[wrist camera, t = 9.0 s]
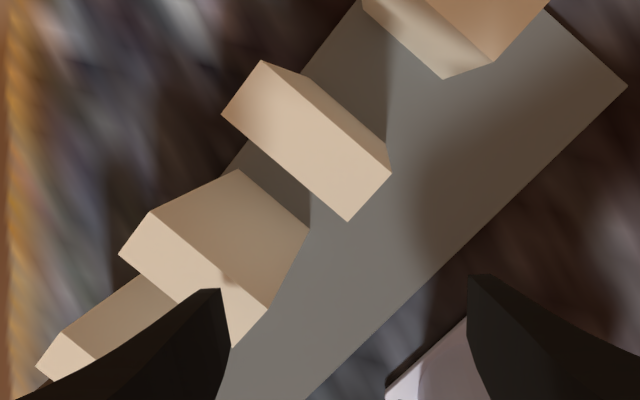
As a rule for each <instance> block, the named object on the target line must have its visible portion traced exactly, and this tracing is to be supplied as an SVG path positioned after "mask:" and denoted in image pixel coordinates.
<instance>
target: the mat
mask: <svg viewBox="0 0 640 400" xmlns="http://www.w3.org/2000/svg"><path fill="white" fill-rule="evenodd" d="M300 75H303V76H306V77H309V78H310V79H311V80H312V81H314V82H315V83H316V84H317V85H318V86H319V87H321V88H322V89H323V90H324V91H325V92H326V93H327V94H329V95H330V96H331V97H332V98H333V99H334V100H336V101H337V102H338V103H339V104H340V105H341V106H342V107H344V108H345V109H346V110H347V111H348V112H349V113H351V114H352V115H353V116H354V117H355V118H356V119H357V120H359V121H360V122H361V123H362V124H363V125H364V126H366V127H367V128H368V129H369V130H370V131H371V132H372V133H374V134H375V135H376V136H377V137H378V138H379V139H381V140H382V141H383V142H384V143H385V144H386V148H387V152H388V157H389V161H390V166H391V170H392V174H391V175H390V176H389V177H388V179H387V180H386V181H385V182H384V183H383V184H382V185H381V186H380V187H379V188H378V190H377V191H376V192H375V193H374V194H373V195H372V196H371V197H370V198H369V199H368V201H367V202H366V203H365V204H364V205H363V206H362V207H361V208H360V209H359V210H358V211H357V213H356V214H355V215H354V216H353V217H352V218H351V219H350V220H349V221H348V222H346V221H345V220H344V219H343V218H342V217H341V216H339V215H338V214H337V213H336V212H335V211H334V210H332V209H331V208H330V207H329V206H328V205H326V204H325V203H324V202H323V201H322V200H321V199H319V198H318V197H317V196H316V195H315V194H314V193H312V192H311V191H310V190H309V189H308V188H306V187H305V186H304V185H303V184H302V183H301V182H299V181H298V180H297V179H296V178H295V177H294V176H292V175H291V174H290V173H289V172H288V171H286V170H285V169H284V168H283V167H282V166H281V165H279V164H278V163H277V162H276V161H275V160H274V159H272V158H271V157H270V156H269V155H268V154H266V153H265V152H264V151H263V150H262V149H261V148H259V147H258V146H257V145H256V144H255V143H254V142H252V141H251V140H250V139H249V140H248V141H247V142H246V144H245V145H244V146H243V148H242V149H241V150H240V151H239V153H238V154H237V155H236V157H235V158H234V159H233V161H232V162H231V163H230V164H229V166H228V167H227V168H226V170H225V171H224V172H223V173H222V175H221V176H220V177H222V176H224V175H226V174H228V173H230V172H232V171H234V170H236V169H239V170H240V171H242V172H243V173H244V174H245V175H246V176H248V177H249V178H250V179H251V180H252V181H253V182H255V183H256V184H257V185H258V186H259V187H261V188H262V189H263V190H264V191H265V192H267V193H268V194H269V195H270V196H271V197H272V198H274V199H275V200H276V201H277V202H278V203H280V204H281V205H282V206H283V207H284V208H285V209H287V210H288V211H289V212H290V213H291V214H293V215H294V216H295V217H296V218H297V219H298V220H300V221H301V222H302V223H303V224H304V225H306V226H307V227H308V228H309V229H310V230H309V232H308V234H307V236H306V238H305V240H304V242H303V244H302V246H301V248H300V249H299V251H298V253H297V255H296V257H295V259H294V261H293V263H292V265H291V267H290V269H289V270H288V272H287V274H286V276H285V278H284V280H283V282H282V284H281V286H280V288H279V290H278V291H277V293H276V295H275V297H274V299H273V301H272V303H271V305H270V307H269V309H268V310H267V311H266V312H265V313H264V314H263V316H262V317H261V318H260V319H259V320H258V321H257V322H256V323H255V324H254V325H253V327H252V328H251V329H250V330H249V331H248V332H247V333H246V334H245V335H244V336H243V337H242V339H241V340H240V341H239V342H238V343H237V344H236V345H235V346H234V347H233V348H232V347H231V349H230V353H229V358H228V362H227V366H226V370H225V374H224V377H223V380H222V383H221V386H220V388H219V391H218V393H217V396H216V399H215V400H305V399H306V398H307V397H308V396H309V395H310V394H311V393H312V392H313V391H314V390H315V389H316V388H317V387H318V386H319V385H320V384H321V383H322V382H323V381H324V380H325V379H327V378H328V377H329V376H330V375H331V374H332V373H333V372H334V371H335V370H336V369H337V368H338V367H339V366H340V365H341V364H342V363H343V362H344V361H345V360H346V359H347V358H348V357H349V356H350V355H351V354H352V353H353V352H354V351H355V350H356V349H357V348H359V347H360V346H361V345H362V344H363V343H364V342H365V341H366V340H367V339H368V338H369V337H370V336H371V335H372V334H373V333H374V332H375V331H376V330H377V329H378V328H379V327H380V326H381V325H382V324H383V323H384V322H385V321H386V320H387V319H388V318H389V317H391V316H392V315H393V314H394V313H395V312H396V311H397V310H398V309H399V308H400V307H401V306H402V305H403V304H404V303H405V302H406V301H407V300H408V299H409V298H410V297H411V296H412V295H413V294H414V293H415V292H416V291H417V290H418V289H419V288H420V287H421V286H423V285H424V284H425V283H426V282H427V281H428V280H429V279H430V278H431V277H432V276H433V275H434V274H435V273H436V272H437V271H438V270H439V269H440V268H441V267H442V266H443V265H444V264H445V263H446V262H447V261H448V260H449V259H450V258H451V257H452V256H453V255H455V254H456V253H457V252H458V251H459V250H460V249H461V248H462V247H463V246H464V245H465V244H466V243H467V242H468V241H469V240H470V239H471V238H472V237H473V236H474V235H475V234H476V233H477V232H478V231H479V230H480V229H481V228H482V227H483V226H484V225H486V224H487V223H488V222H489V221H490V220H491V219H492V218H493V217H494V216H495V215H496V214H497V213H498V212H499V211H500V210H501V209H502V208H503V207H504V206H505V205H506V204H507V203H508V202H509V201H510V200H511V199H512V198H513V197H514V196H515V195H516V194H518V193H519V192H520V191H521V190H522V189H523V188H524V187H525V186H526V185H527V184H528V183H529V182H530V181H531V180H532V179H533V178H534V177H535V176H536V175H537V174H538V173H539V172H540V171H541V170H542V169H543V168H544V167H545V166H546V165H547V164H548V163H550V162H551V161H552V160H553V159H554V158H555V157H556V156H557V155H558V154H559V153H560V152H561V151H562V150H563V149H564V148H565V147H566V146H567V145H568V144H569V143H570V142H571V141H572V140H573V139H574V138H575V137H576V136H577V135H578V134H579V133H580V132H582V131H583V130H584V129H585V128H586V127H587V126H588V125H589V124H590V123H591V122H592V121H593V120H594V119H595V118H596V117H597V116H598V115H599V114H600V113H601V112H602V111H603V110H604V109H605V108H606V107H607V106H608V105H609V104H610V103H611V102H612V101H614V100H615V99H616V98H617V97H618V96H619V95H620V94H621V93H622V92H623V91H624V90H625V89H626V88H627V87H628V85H627V84H626V83H625V82H623V81H622V80H621V79H620V78H619V77H618V76H617V75H616V74H615V73H614V72H612V71H611V70H610V69H609V68H608V67H607V66H606V65H605V64H604V63H603V62H601V61H600V60H599V59H598V58H597V57H596V56H595V55H594V54H593V53H592V52H590V51H589V50H588V49H587V48H586V47H585V46H584V45H583V44H582V43H581V42H579V41H578V40H577V39H576V38H575V37H574V36H573V35H572V34H571V33H570V32H568V31H567V30H566V29H565V28H564V27H563V26H562V25H561V24H560V23H559V22H557V21H556V20H555V19H554V18H553V17H552V16H551V15H550V14H549V13H548V12H547V11H545V10H544V9H542V10H541V11H540V12H539V13H538V14H537V15H536V16H535V17H534V19H533V20H532V21H531V22H530V23H529V24H528V25H527V26H526V27H525V28H524V30H523V31H522V32H521V33H520V34H519V35H518V36H517V37H516V38H515V39H514V41H513V42H512V43H511V44H510V45H509V46H508V47H507V48H506V49H505V50H504V51H503V53H502V54H501V55H500V56H499V57H498V58H497V59H496V60H495V61H494V62H493V63H490V64H487V65H484V66H481V67H478V68H475V69H472V70H469V71H466V72H464V73H461V74H458V75H455V76H452V77H449V78H446V79H443V80H442V79H441V78H440V77H439V76H438V75H437V74H435V73H434V72H433V71H432V70H431V69H430V68H429V67H428V66H426V65H425V64H424V63H423V62H422V61H421V60H420V59H419V58H417V57H416V56H415V55H414V54H413V53H412V52H411V51H409V50H408V49H407V48H406V47H405V46H404V45H403V44H402V43H400V42H399V41H398V40H397V39H396V38H395V37H394V36H393V35H391V34H390V33H389V32H388V31H387V30H386V29H385V28H383V27H382V26H381V25H380V24H379V23H378V22H377V21H376V20H374V19H373V18H372V17H371V16H370V15H369V14H368V13H367V12H365V11H364V10H363V6H362V0H356V1H355V3H354V4H353V5H352V7H351V8H350V9H349V11H348V12H347V13H346V14H345V16H344V17H343V18H342V20H341V21H340V22H339V23H338V25H337V26H336V27H335V29H334V30H333V31H332V32H331V34H330V35H329V36H328V38H327V39H326V40H325V42H324V43H323V44H322V45H321V47H320V48H319V49H318V51H317V52H316V53H315V54H314V56H313V57H312V58H311V60H310V61H309V62H308V64H307V65H306V66H305V67H304V69H303V70H302V71H301V73H300ZM220 177H219V178H220Z"/></svg>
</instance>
